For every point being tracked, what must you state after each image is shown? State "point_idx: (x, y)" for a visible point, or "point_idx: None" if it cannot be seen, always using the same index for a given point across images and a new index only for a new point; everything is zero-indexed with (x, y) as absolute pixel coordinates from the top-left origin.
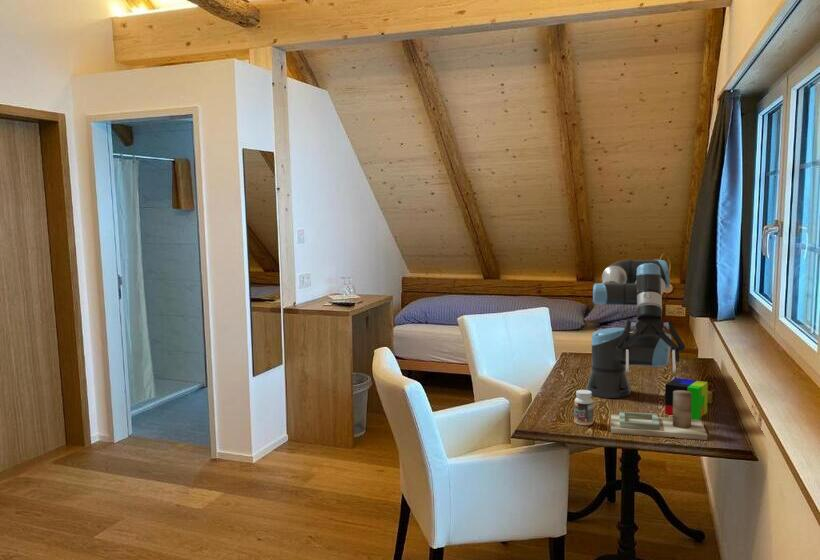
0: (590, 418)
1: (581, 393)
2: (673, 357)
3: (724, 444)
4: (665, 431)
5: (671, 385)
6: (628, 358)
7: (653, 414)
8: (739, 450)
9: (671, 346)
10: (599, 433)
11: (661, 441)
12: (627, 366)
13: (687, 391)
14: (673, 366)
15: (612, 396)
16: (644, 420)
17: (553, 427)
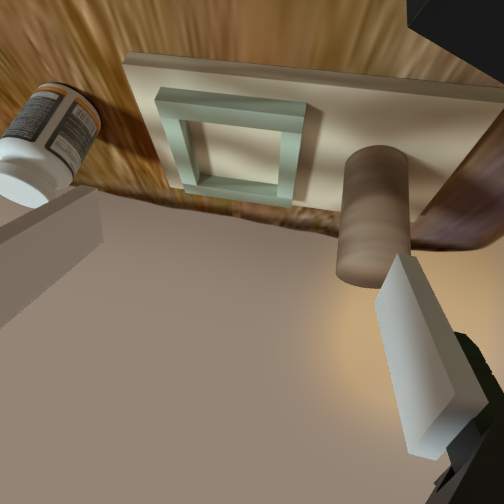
0: (92, 143)
1: (28, 206)
2: (399, 381)
3: (441, 228)
4: (306, 204)
5: (452, 50)
6: (50, 283)
7: (287, 127)
8: (451, 249)
9: (433, 500)
10: (150, 177)
11: (292, 213)
12: (86, 248)
13: None
14: (382, 321)
15: None
16: (255, 128)
17: None
